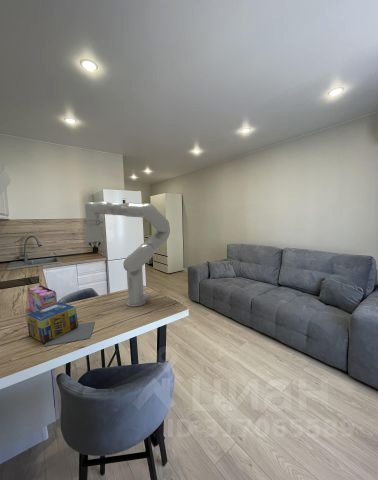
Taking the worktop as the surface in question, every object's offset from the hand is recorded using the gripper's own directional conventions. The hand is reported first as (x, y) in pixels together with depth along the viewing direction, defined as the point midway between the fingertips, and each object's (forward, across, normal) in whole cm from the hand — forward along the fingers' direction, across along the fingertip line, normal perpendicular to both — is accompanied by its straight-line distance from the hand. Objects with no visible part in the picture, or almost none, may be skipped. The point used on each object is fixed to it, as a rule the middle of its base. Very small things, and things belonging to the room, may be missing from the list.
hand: (95, 253), depth 128 cm
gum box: (+33, +31, -2) cm, 46 cm away
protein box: (+27, +12, +20) cm, 36 cm away
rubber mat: (+33, +9, +30) cm, 46 cm away
